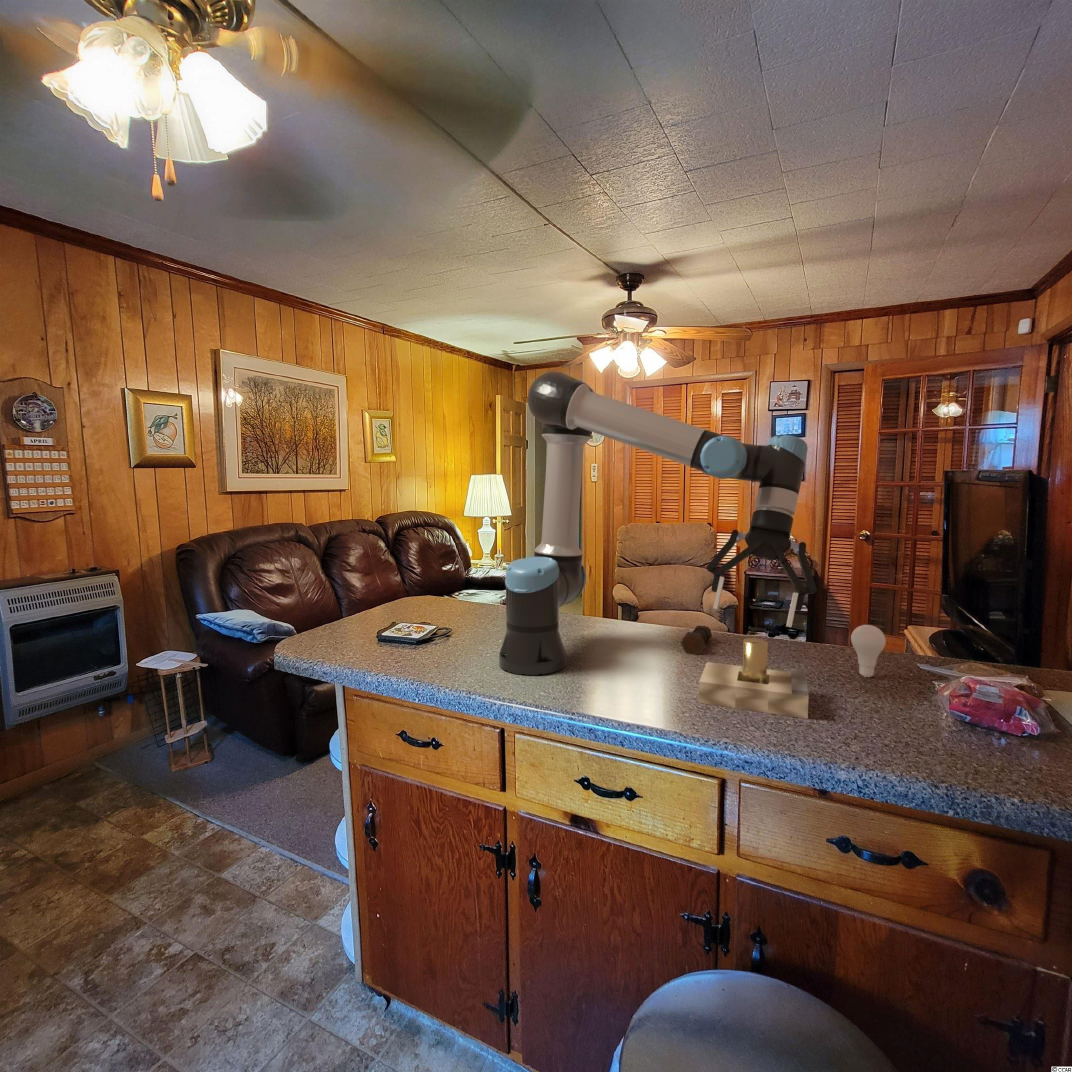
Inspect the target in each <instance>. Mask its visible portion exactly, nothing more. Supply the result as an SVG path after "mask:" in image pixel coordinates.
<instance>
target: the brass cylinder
mask: <svg viewBox="0 0 1072 1072" xmlns="http://www.w3.org/2000/svg"><path fill="white" fill-rule="evenodd" d="M742 641H743V642H742V666H743V667H742V681H745V682H753V683H761V684H766V677H767V669H768V651H769V650H768V648H769V646H768V645H769V641H767V640H765V639H763V638H758V637H747V638H744V639H743V640H742Z"/></svg>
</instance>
